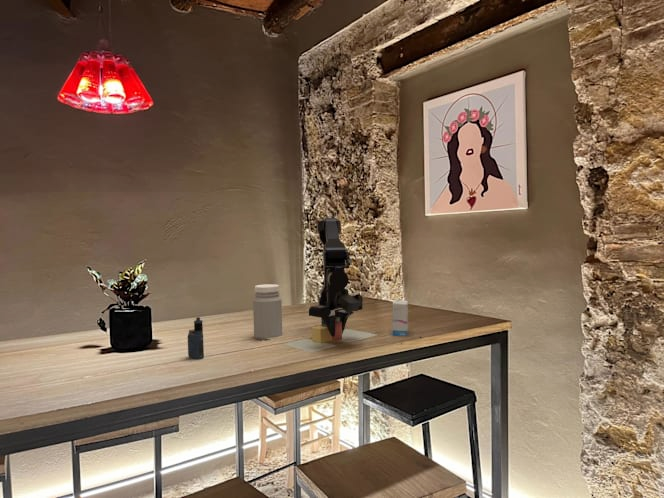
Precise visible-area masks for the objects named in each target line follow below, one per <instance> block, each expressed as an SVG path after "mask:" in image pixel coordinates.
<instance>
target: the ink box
mask: <svg viewBox="0 0 664 498" xmlns="http://www.w3.org/2000/svg"><path fill="white" fill-rule="evenodd" d="M408 332H409V300H401V299H399V300H398V299H395V300H394V301H392V336H393V337H401V336H402V337H407V336H408Z"/></svg>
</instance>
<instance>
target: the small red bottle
mask: <svg viewBox="0 0 664 498" xmlns="http://www.w3.org/2000/svg"><path fill="white" fill-rule="evenodd" d="M332 340H342V321H340V317H337V318H336V320H335V336H334V337H333V336H332Z"/></svg>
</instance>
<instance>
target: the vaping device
mask: <svg viewBox="0 0 664 498" xmlns="http://www.w3.org/2000/svg"><path fill="white" fill-rule="evenodd" d="M195 319H196V320H194V321H193V323H194V324H193V325H194V326H193V329H189V330H188V333H187V334H188V335H187V355H188V358H189V359H193V360H202V359H204V357H205V355H204V354H205V352H204V332H203V331H204V328H203V320H202V319H201V317H199V316H198V317H195Z"/></svg>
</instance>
